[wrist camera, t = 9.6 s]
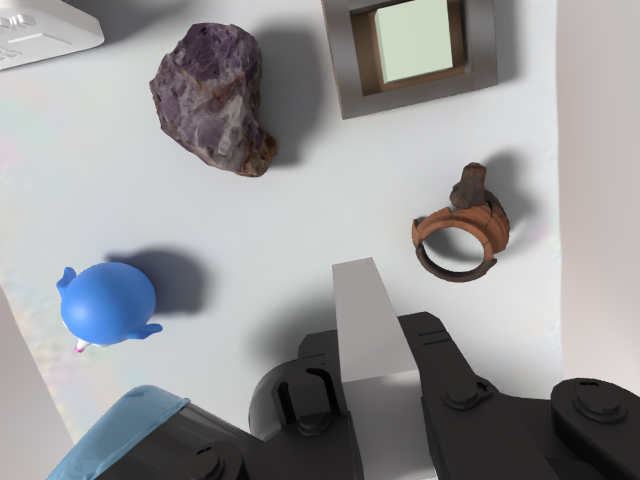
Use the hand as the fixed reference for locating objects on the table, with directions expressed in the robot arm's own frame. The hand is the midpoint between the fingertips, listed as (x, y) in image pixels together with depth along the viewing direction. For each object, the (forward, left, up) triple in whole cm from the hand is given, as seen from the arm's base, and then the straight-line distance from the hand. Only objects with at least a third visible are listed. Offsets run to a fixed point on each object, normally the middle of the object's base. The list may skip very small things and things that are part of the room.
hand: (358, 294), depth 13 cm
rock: (-1, +14, -26) cm, 30 cm away
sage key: (+14, +4, -23) cm, 28 cm away
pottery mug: (+6, -12, -26) cm, 30 cm away
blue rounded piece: (-26, +11, -26) cm, 39 cm away
